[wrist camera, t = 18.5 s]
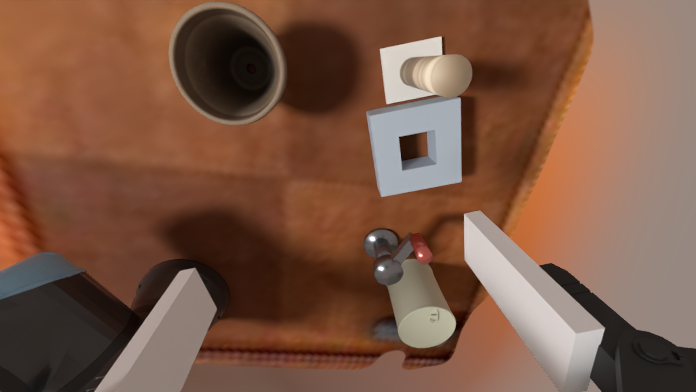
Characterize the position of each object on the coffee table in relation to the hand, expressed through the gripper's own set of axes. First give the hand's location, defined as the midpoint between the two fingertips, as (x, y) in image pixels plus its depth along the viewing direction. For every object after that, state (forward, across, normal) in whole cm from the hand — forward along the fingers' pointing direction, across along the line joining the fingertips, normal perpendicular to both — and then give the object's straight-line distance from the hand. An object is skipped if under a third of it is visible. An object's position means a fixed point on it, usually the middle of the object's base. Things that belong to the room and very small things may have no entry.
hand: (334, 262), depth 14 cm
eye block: (+30, +12, -4) cm, 33 cm away
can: (+31, +9, -30) cm, 44 cm away
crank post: (+31, +5, -21) cm, 38 cm away
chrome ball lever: (+24, +7, -19) cm, 32 cm away
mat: (+30, +13, +6) cm, 33 cm away
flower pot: (+31, -8, +10) cm, 34 cm away
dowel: (+30, +13, +6) cm, 33 cm away
